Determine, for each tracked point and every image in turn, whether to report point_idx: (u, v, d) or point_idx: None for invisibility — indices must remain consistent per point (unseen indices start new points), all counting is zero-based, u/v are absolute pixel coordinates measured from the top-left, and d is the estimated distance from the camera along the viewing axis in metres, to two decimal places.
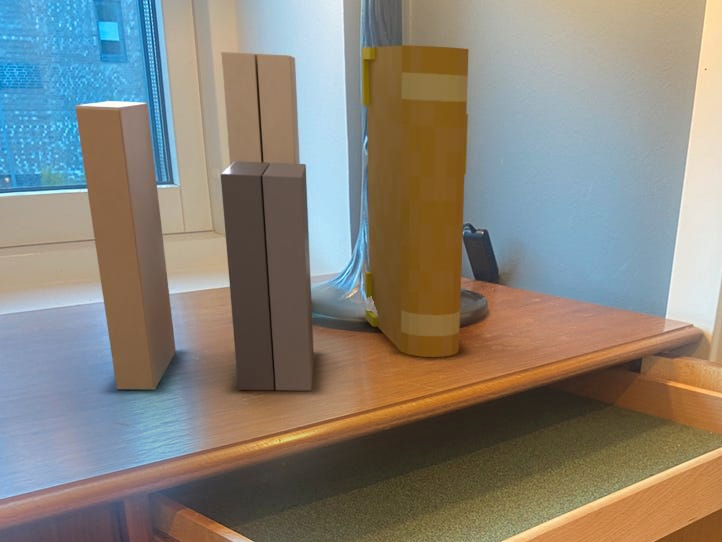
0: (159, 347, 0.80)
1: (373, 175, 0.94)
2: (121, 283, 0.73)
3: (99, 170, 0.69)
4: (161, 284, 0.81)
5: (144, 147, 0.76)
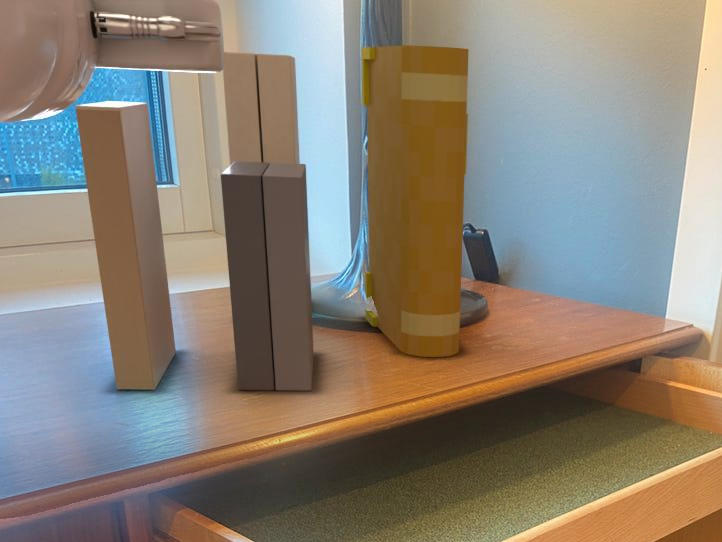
0: (159, 347, 0.80)
1: (373, 175, 0.94)
2: (121, 283, 0.73)
3: (99, 170, 0.69)
4: (161, 284, 0.81)
5: (144, 147, 0.76)
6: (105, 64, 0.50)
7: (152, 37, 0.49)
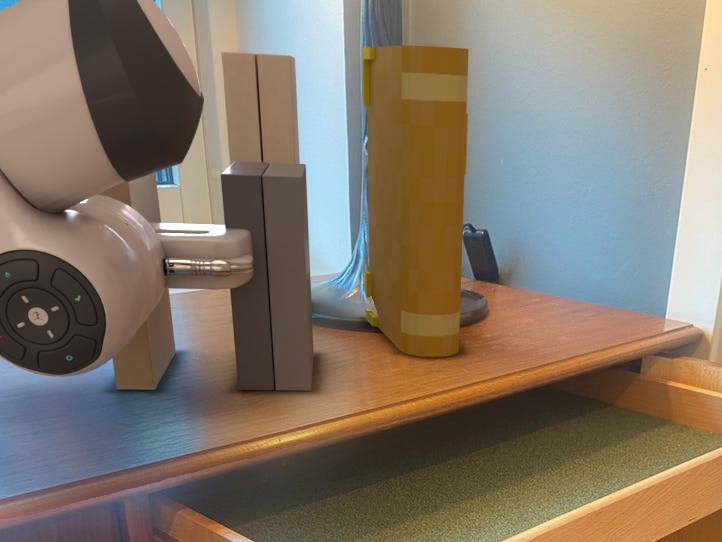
0: (159, 347, 0.80)
1: (373, 175, 0.94)
2: None
3: None
4: None
5: None
6: (171, 288, 0.69)
7: (206, 274, 0.67)
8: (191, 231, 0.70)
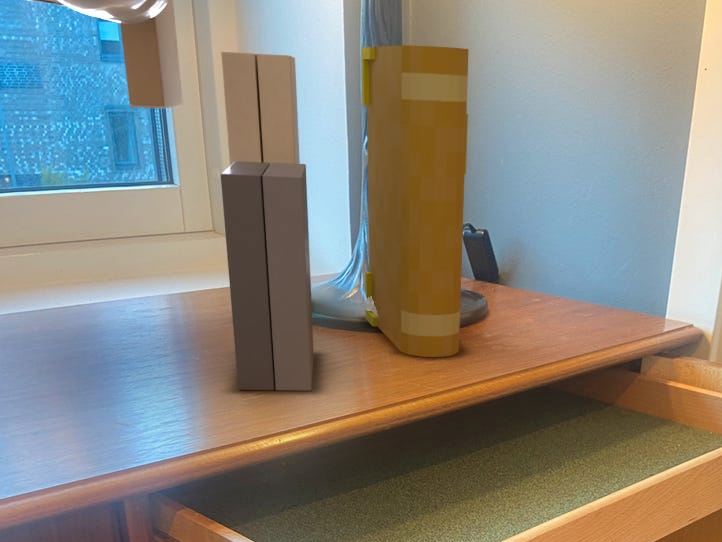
0: (168, 77, 0.88)
1: (373, 175, 0.94)
2: None
3: None
4: (170, 25, 0.89)
5: None
6: None
7: None
8: None
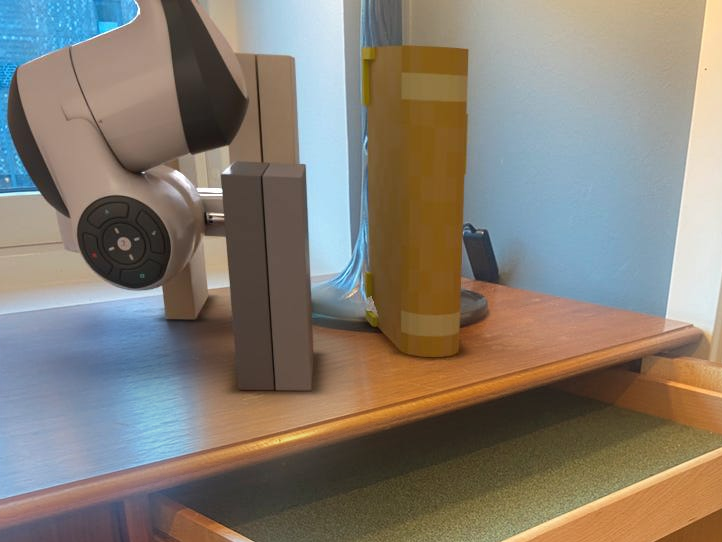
0: (197, 288, 1.02)
1: (373, 175, 0.94)
2: None
3: None
4: None
5: None
6: (209, 235, 0.91)
7: None
8: None
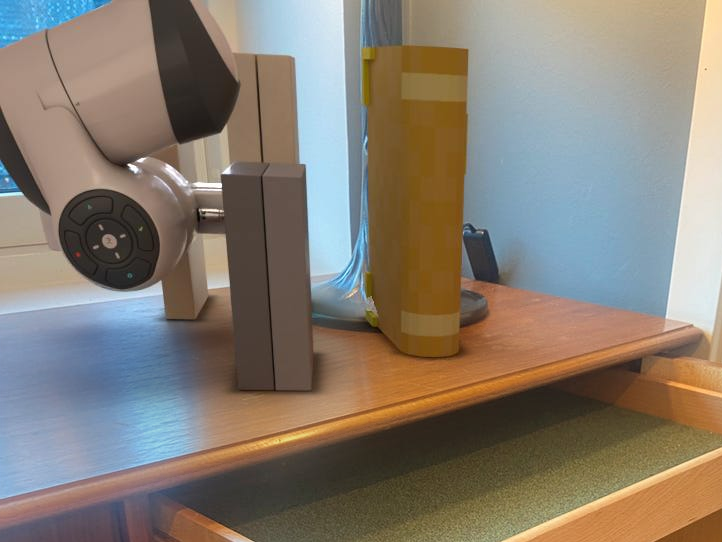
0: (197, 288, 1.02)
1: (373, 175, 0.94)
2: None
3: None
4: (198, 239, 1.03)
5: None
6: (202, 233, 0.86)
7: None
8: (218, 188, 0.87)
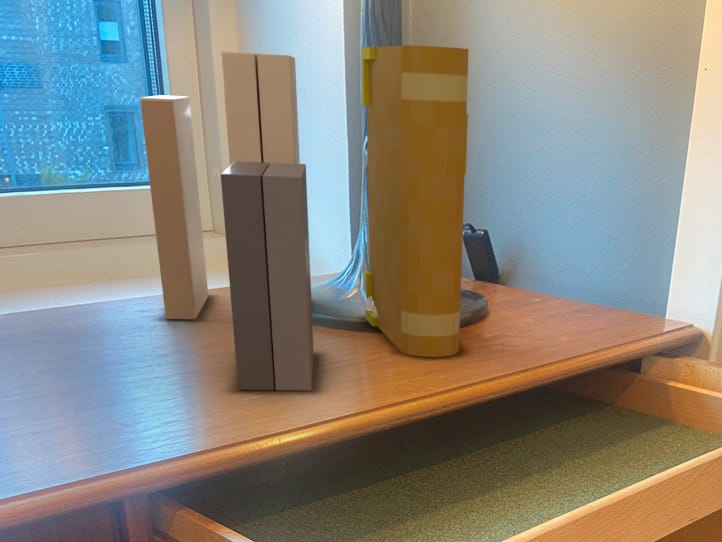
0: (197, 288, 1.02)
1: (373, 175, 0.94)
2: (171, 234, 0.95)
3: (156, 147, 0.91)
4: (198, 239, 1.03)
5: (187, 130, 0.98)
6: None
7: None
8: None
